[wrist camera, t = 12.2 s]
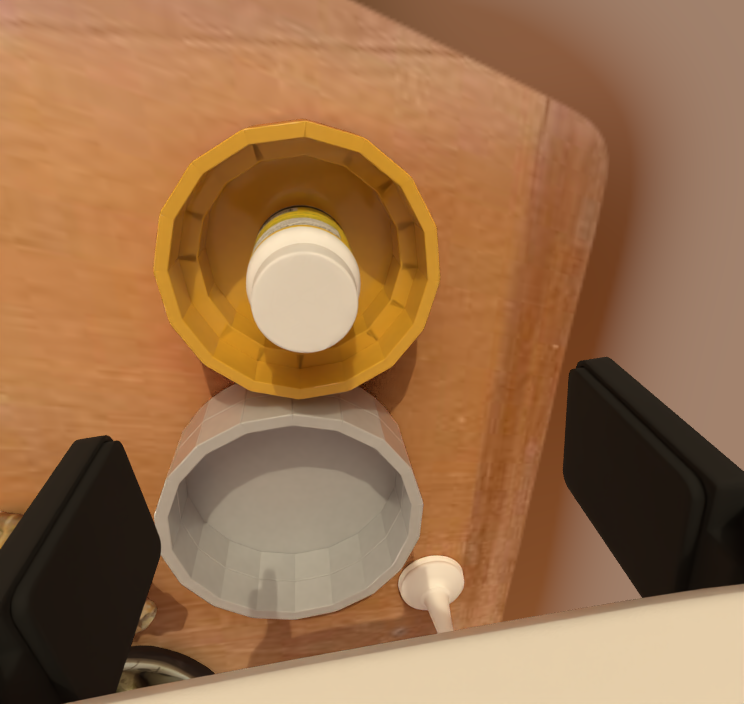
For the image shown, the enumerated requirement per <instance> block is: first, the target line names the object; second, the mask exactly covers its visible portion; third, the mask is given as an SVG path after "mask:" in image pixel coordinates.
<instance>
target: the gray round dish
mask: <svg viewBox="0 0 744 704" xmlns="http://www.w3.org/2000/svg"><path fill="white" fill-rule="evenodd" d="M422 512H423V499H422V496H421V493H420V490H419V487H418V484H417V481H416V478H415V475H414V472H413V468H412V465H411V462H410V459H409V456H408V453H407V450H406V447H405V444H404V441H403V438H402V435H401V432H400V429H399V426H398V424H397V423H396V422H395V420H394V419H393V417H392V416H391V415H390V413H389V412H388V411H387V410H386V408H385V407H384V406H383V405H382V404H381V403H380V402H379V401H378V400H377V399H376V398H375V397H373V396H372V395H370V394H369V393H368V392H366V391H365V390H364V389H362V388H360V387H358V386H357V387H356V388H354V389H352V390H349V391H347V392H341V393H335V394H329V395H324V396H318V397H312V398H306V399H293V398H287V397H281V396H275V395H270V394H264V393H258V392H252V391H250V390H247V389H246V388H244V387H242V386H240V385H239V384H237V383H236V384H234V385H232V386H230V387H228V388H226V389H224V390H223V391H221V392H220V393H218V394H217V395H215V396H214V397H212V398H211V399H210V400H209V401H208V402H207V403H206V404H204V405H203V406H202V407H201V408H200V409H199V410H198V412H197V413H196V414H195V415H194V416H193V418H192V419H191V420H190V422H189V424H188V425H187V426H186V427H185V428H184V430H183V432H182V435H181V438H180V441H179V443H178V446H177V449H176V452H175V455H174V458H173V460H172V463H171V466H170V469H169V472H168V475H167V477H166V480H165V483H164V486H163V489H162V492H161V496H160V499H159V502H158V505H157V508H156V511H155V514H154V521H155V527H156V529H157V532H158V534H159V537H160V540H161V556H162V557H163V559H164V560H165V562H166V563H167V565H168V566H169V568H170V569H171V570H172V572H173V573H174V575H175V576H176V578H177V579H178V581H179V582H180V583H181V584H182V585H183V586H185V587H186V588H188V589H189V590H191V591H192V592H194V593H195V594H197V595H198V596H199V597H201V598H202V599H204V600H205V601H207V602H208V603H210V604H211V605H214V606H215V607H218V608H222V609H225V610H228V611H231V612H235V613H238V614H241V615H244V616H248V617H251V618H263V619H287V620H295V619H301V618H306V617H311V616H316V615H321V614H326V613H331V612H335V611H338V610H340V609H343V608H345V607H347V606H349V605H351V604H353V603H355V602H357V601H359V600H362V599H364V598H366V597H368V596H370V595H372V594H374V593H375V592H376V591H377V590H378V589H379V588H381V587H382V586H383V585H384V584H385V583H386V582H387V581H389V580H390V579H391V578H392V577H393V576H394V575H395V574H397V573H398V572H399V571H400V570H401V568H402V567H403V565H404V564H405V562H406V560H407V558H408V557H409V555H410V553H411V551H412V550H413V548H414V546H415V544H416V543H417V541H418V539H419V537H420V529H421V521H422Z"/></svg>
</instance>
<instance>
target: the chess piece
mask: <svg viewBox="0 0 744 704" xmlns="http://www.w3.org/2000/svg"><path fill="white" fill-rule="evenodd" d="M463 586H464V577H463V571H462V568H461V566H460V565H459V564H458V563H457V562H456V561H455V560H453V559H451V558H449V557H446V556H439V555H435V556H427V557H423V558H421V559H418V560H416V561H414V562H413V563H411V564H410V565H408V566H407V567H406V568H405V569H404V571H403V572H402V573H401V575H400V577H399V581H398V588H399V591H400V593H401V596H402V598H403V600H404V601H405V602H406V603H407V604H408V605H409V606H411V607H413V608H416V609H420V610H428V612H429V614H430V616H431V619H432V621H433V623H434V626H435V628H436V631H437V633H443V632H449V631H453V626H452V620H451V614H450V608H449V604H450V603H451V602H453V601H454V600H455V599H456V598H457V597H458V596H459V595H460V593H461V591H462V589H463Z"/></svg>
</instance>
